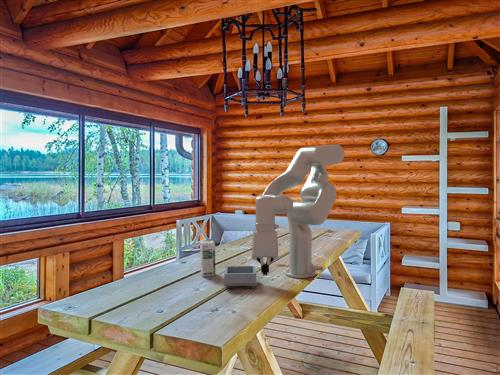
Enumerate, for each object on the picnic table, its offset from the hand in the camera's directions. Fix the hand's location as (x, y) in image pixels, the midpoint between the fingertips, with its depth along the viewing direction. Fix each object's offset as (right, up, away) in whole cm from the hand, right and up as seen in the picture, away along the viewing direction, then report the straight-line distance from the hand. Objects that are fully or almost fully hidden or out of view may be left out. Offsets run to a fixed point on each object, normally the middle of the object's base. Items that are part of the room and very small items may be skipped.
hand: (265, 274), depth 147 cm
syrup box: (-24, -4, +16) cm, 29 cm away
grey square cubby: (-10, -4, 0) cm, 11 cm away
